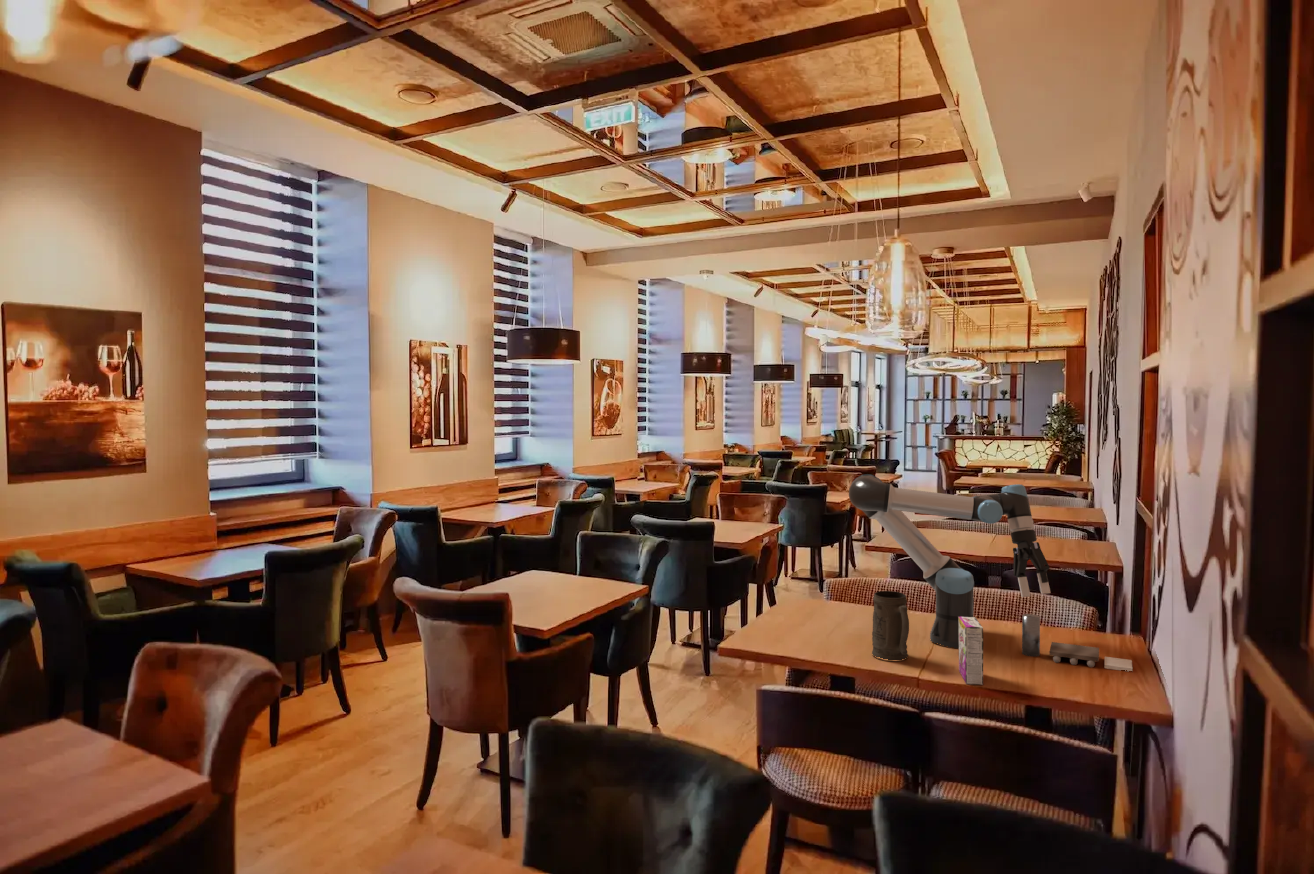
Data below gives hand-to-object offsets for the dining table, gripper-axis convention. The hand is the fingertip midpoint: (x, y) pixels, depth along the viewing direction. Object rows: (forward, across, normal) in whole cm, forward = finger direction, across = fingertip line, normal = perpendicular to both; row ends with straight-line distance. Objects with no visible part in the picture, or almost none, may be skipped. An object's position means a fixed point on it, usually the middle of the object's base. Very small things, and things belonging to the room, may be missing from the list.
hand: (1035, 595), depth 252 cm
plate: (+23, -17, -12) cm, 31 cm away
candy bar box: (+23, -26, +36) cm, 50 cm away
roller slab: (+20, -11, -2) cm, 24 cm away
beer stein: (+16, -8, +52) cm, 55 cm away
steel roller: (+18, -5, +8) cm, 20 cm away
